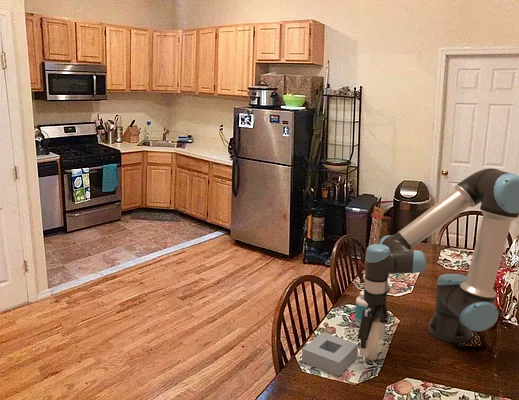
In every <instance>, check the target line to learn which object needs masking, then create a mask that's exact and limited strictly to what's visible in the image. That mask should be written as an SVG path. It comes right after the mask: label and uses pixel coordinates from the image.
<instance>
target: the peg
mask: <svg viewBox="0 0 519 400" xmlns="http://www.w3.org/2000/svg"><path fill="white" fill-rule="evenodd" d="M372 318H373V317H372ZM379 328H380V317H379V316H376V320H375V321H373V324H372V327H371V331H370V334H369V337H368V339H369V353H368V357H365V358H366V359H367V360H369V361H376V360H378V358H379V346H380V345H379V342H380V340H379Z"/></svg>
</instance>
